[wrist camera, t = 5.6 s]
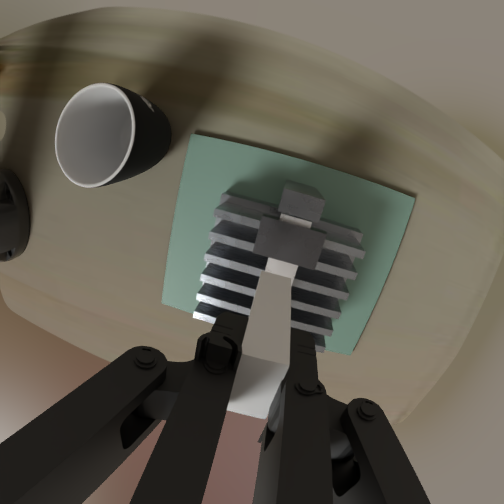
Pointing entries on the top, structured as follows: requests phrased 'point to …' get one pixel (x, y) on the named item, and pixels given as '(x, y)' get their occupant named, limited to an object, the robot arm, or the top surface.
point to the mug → (109, 135)
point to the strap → (288, 244)
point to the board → (270, 190)
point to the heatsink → (250, 264)
